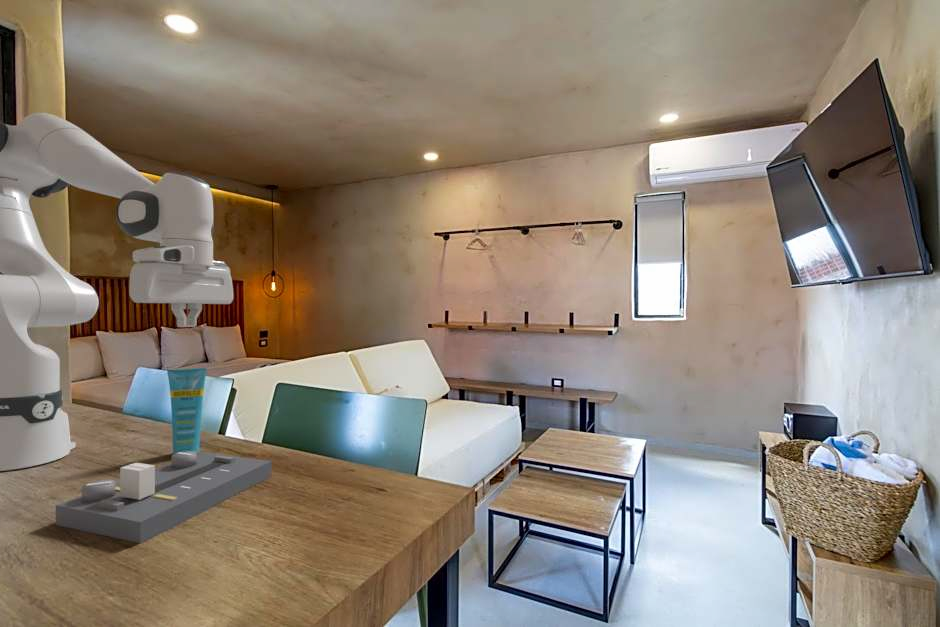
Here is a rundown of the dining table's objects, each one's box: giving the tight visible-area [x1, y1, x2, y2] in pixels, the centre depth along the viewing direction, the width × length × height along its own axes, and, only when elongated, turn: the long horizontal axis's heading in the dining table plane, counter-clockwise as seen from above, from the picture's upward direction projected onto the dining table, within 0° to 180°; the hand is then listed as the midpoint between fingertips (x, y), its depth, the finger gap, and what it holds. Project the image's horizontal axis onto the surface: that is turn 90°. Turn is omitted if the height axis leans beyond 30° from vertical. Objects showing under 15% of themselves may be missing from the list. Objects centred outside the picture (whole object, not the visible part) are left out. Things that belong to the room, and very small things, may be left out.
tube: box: [166, 367, 208, 455], centre depth 99 cm, size 7×5×19 cm, turn 123°
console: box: [55, 451, 273, 544], centre depth 77 cm, size 17×26×5 cm, turn 164°
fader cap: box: [119, 462, 156, 500], centre depth 70 cm, size 4×2×5 cm, turn 74°
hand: (186, 326), depth 88 cm, fingers closed
